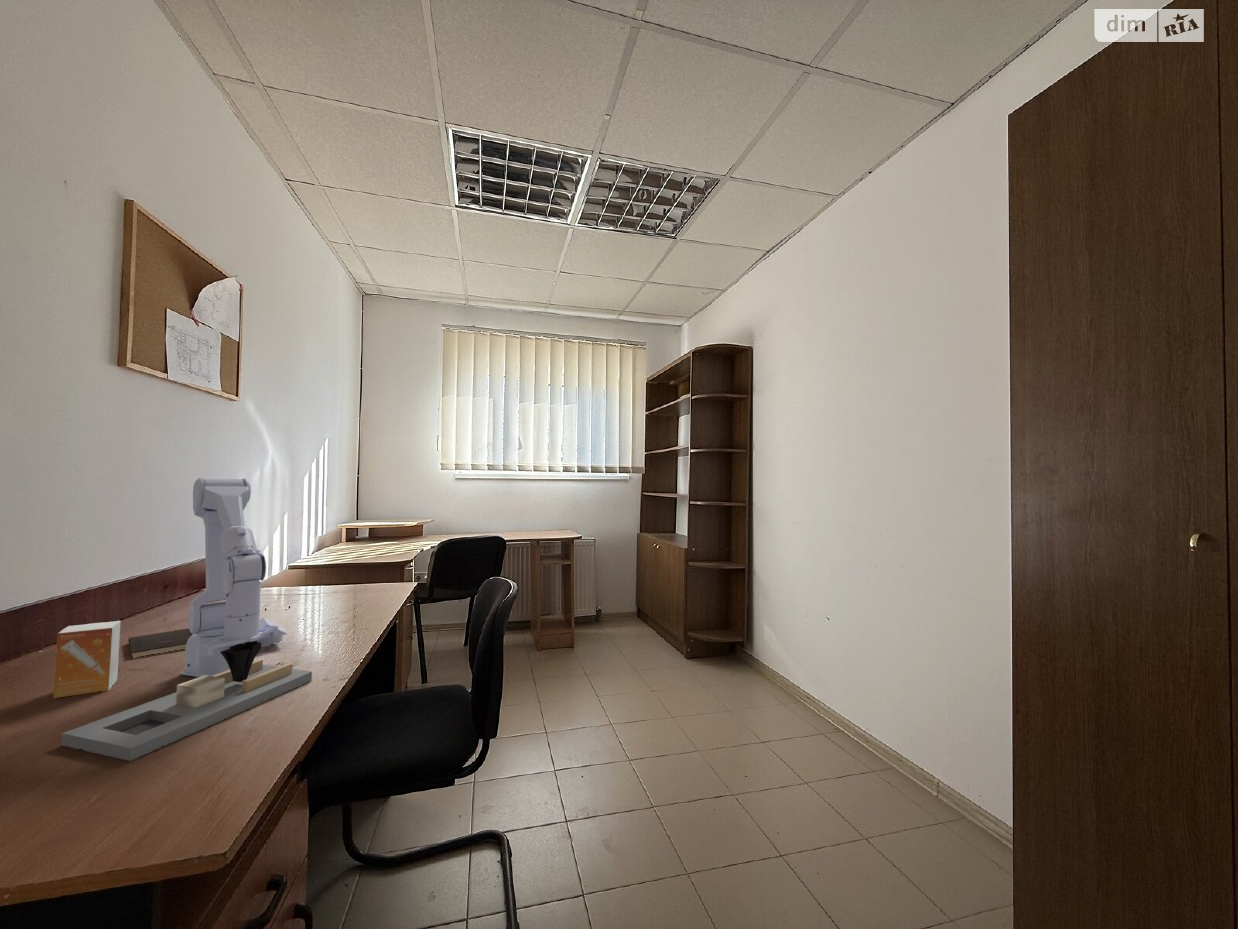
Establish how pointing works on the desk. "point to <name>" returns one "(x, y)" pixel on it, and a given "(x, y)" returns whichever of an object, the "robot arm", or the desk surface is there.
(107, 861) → the desk surface
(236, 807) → the desk surface
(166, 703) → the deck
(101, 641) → the small box
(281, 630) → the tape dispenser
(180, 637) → the hardcover book
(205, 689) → the wooden block
